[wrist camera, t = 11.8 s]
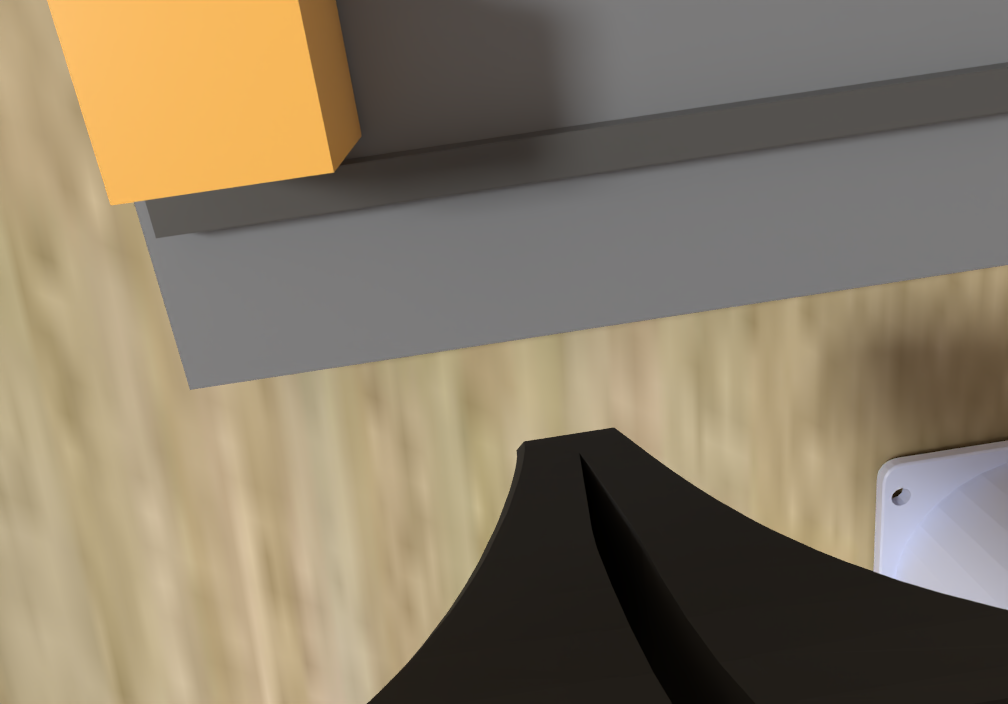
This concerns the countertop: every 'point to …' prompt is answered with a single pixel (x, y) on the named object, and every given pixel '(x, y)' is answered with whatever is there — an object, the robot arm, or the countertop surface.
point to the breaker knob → (208, 91)
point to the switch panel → (600, 176)
